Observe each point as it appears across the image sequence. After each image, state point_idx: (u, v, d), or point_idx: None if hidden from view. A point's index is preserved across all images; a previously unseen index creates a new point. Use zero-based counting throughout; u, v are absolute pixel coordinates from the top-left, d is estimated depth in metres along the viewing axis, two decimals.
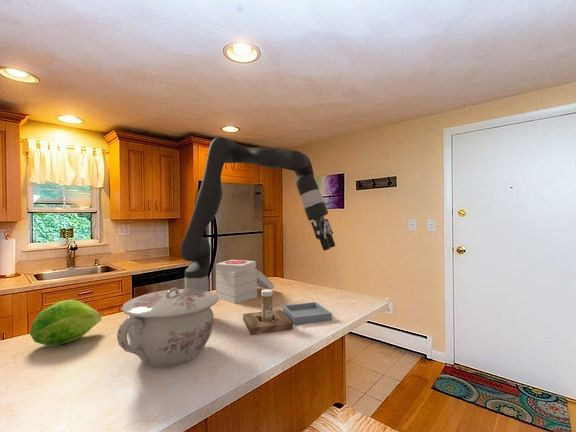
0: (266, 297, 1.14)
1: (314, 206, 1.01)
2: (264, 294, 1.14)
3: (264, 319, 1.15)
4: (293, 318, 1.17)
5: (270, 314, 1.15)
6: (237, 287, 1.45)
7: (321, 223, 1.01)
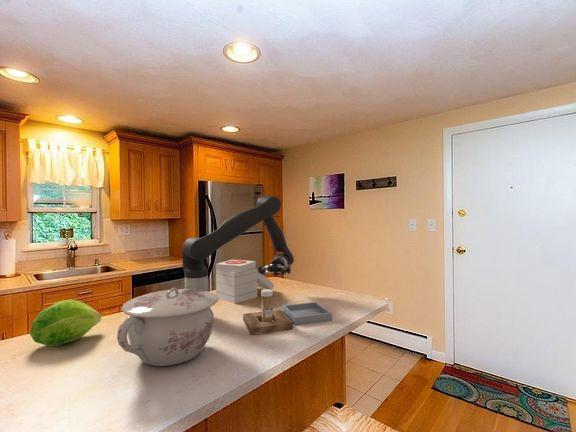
0: (266, 297, 1.14)
1: (285, 267, 1.41)
2: (264, 294, 1.14)
3: (264, 319, 1.15)
4: (293, 318, 1.17)
5: (270, 314, 1.15)
6: (237, 287, 1.45)
7: None
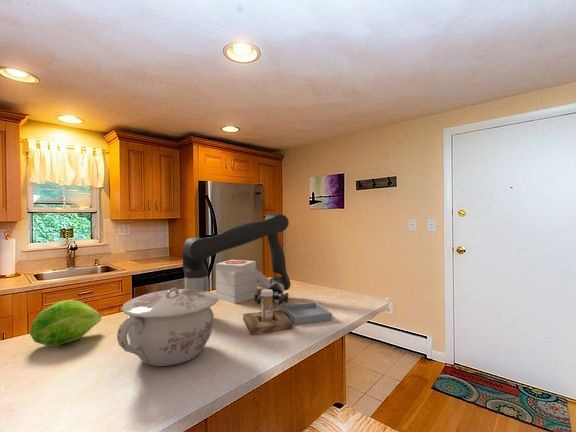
0: (266, 297, 1.14)
1: (282, 294, 1.35)
2: (264, 294, 1.14)
3: (264, 319, 1.15)
4: (293, 318, 1.17)
5: (270, 314, 1.15)
6: (237, 287, 1.45)
7: None
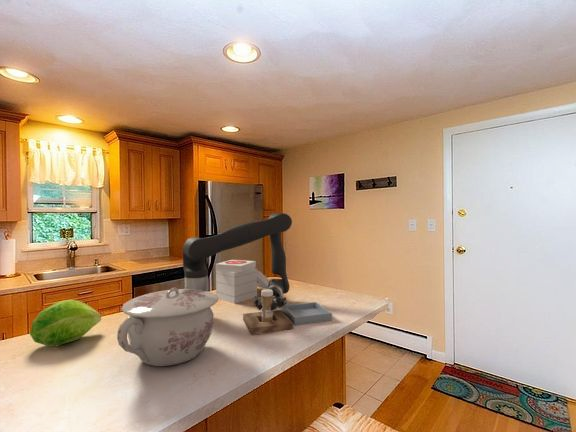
0: (266, 297, 1.14)
1: (281, 298, 1.29)
2: (264, 294, 1.14)
3: (264, 319, 1.15)
4: (293, 318, 1.17)
5: (270, 314, 1.15)
6: (237, 287, 1.45)
7: None
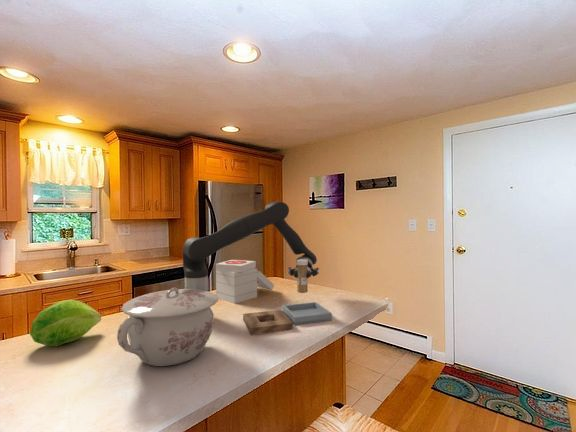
0: (301, 265, 1.23)
1: None
2: (300, 262, 1.23)
3: (300, 286, 1.23)
4: (293, 318, 1.17)
5: (305, 282, 1.23)
6: (237, 287, 1.45)
7: None
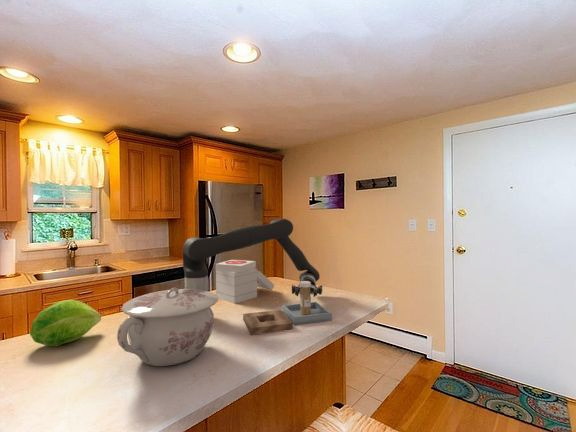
0: (305, 288, 1.24)
1: None
2: (303, 285, 1.24)
3: (303, 308, 1.24)
4: (293, 318, 1.17)
5: (308, 304, 1.24)
6: (237, 287, 1.45)
7: None
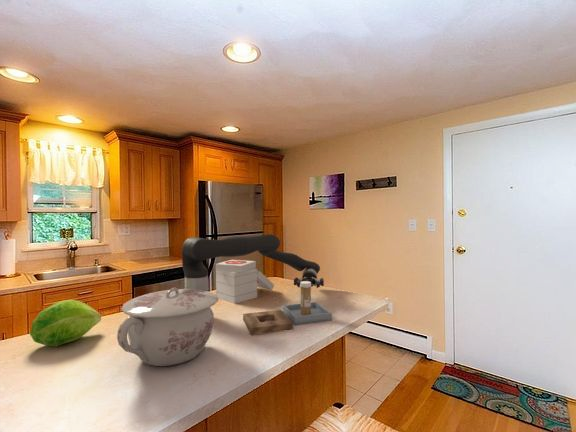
0: (305, 288, 1.24)
1: None
2: (304, 285, 1.24)
3: (303, 308, 1.24)
4: (293, 318, 1.17)
5: (309, 304, 1.24)
6: (237, 287, 1.45)
7: None
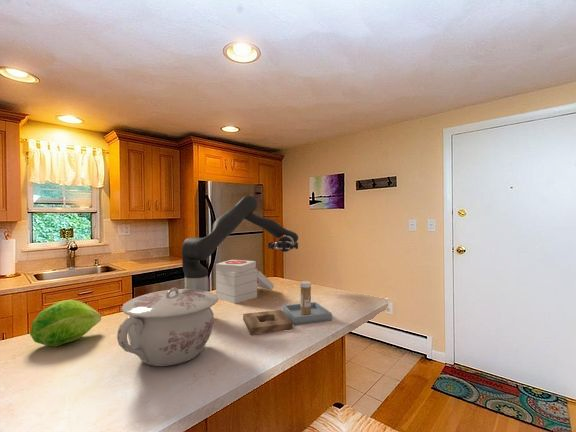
0: (305, 288, 1.24)
1: None
2: (304, 285, 1.24)
3: (303, 308, 1.24)
4: (293, 318, 1.17)
5: (309, 304, 1.24)
6: (237, 287, 1.45)
7: None
